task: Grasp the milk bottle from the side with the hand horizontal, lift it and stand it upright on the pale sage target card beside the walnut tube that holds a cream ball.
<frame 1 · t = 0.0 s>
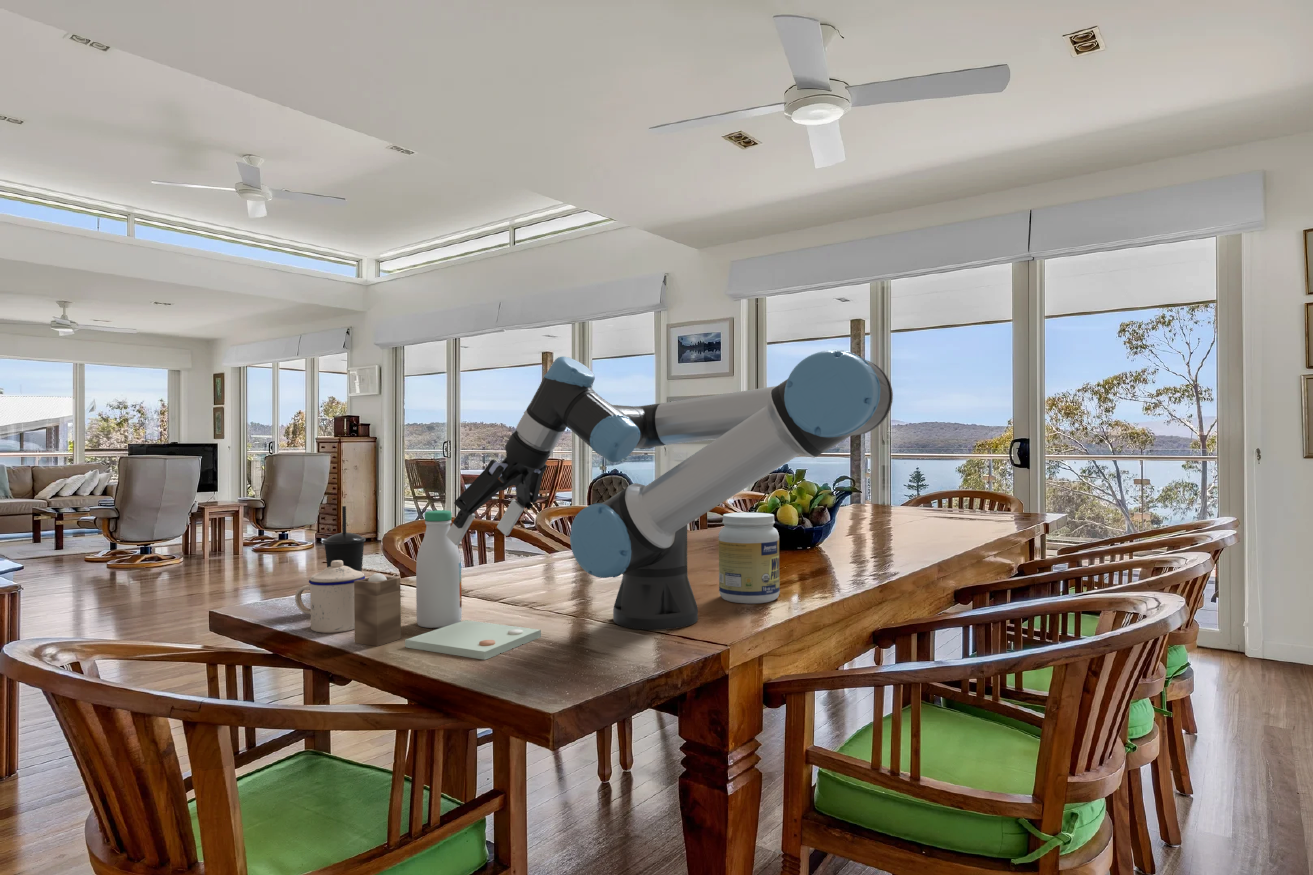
hand: (478, 535, 135), 15 cm above the table, tool tilted 35°, fingers open, 13 cm apart
target card: (474, 642, 121), on the table
drinking cup: (345, 610, 146), on the table
cream ball: (377, 591, 122), point 8 cm above the table, touching walnut tube
teacup with lid: (329, 628, 132), on the table
milk bottle: (439, 624, 133), on the table
supplement tub: (749, 599, 151), on the table
walnut tube: (378, 640, 122), on the table
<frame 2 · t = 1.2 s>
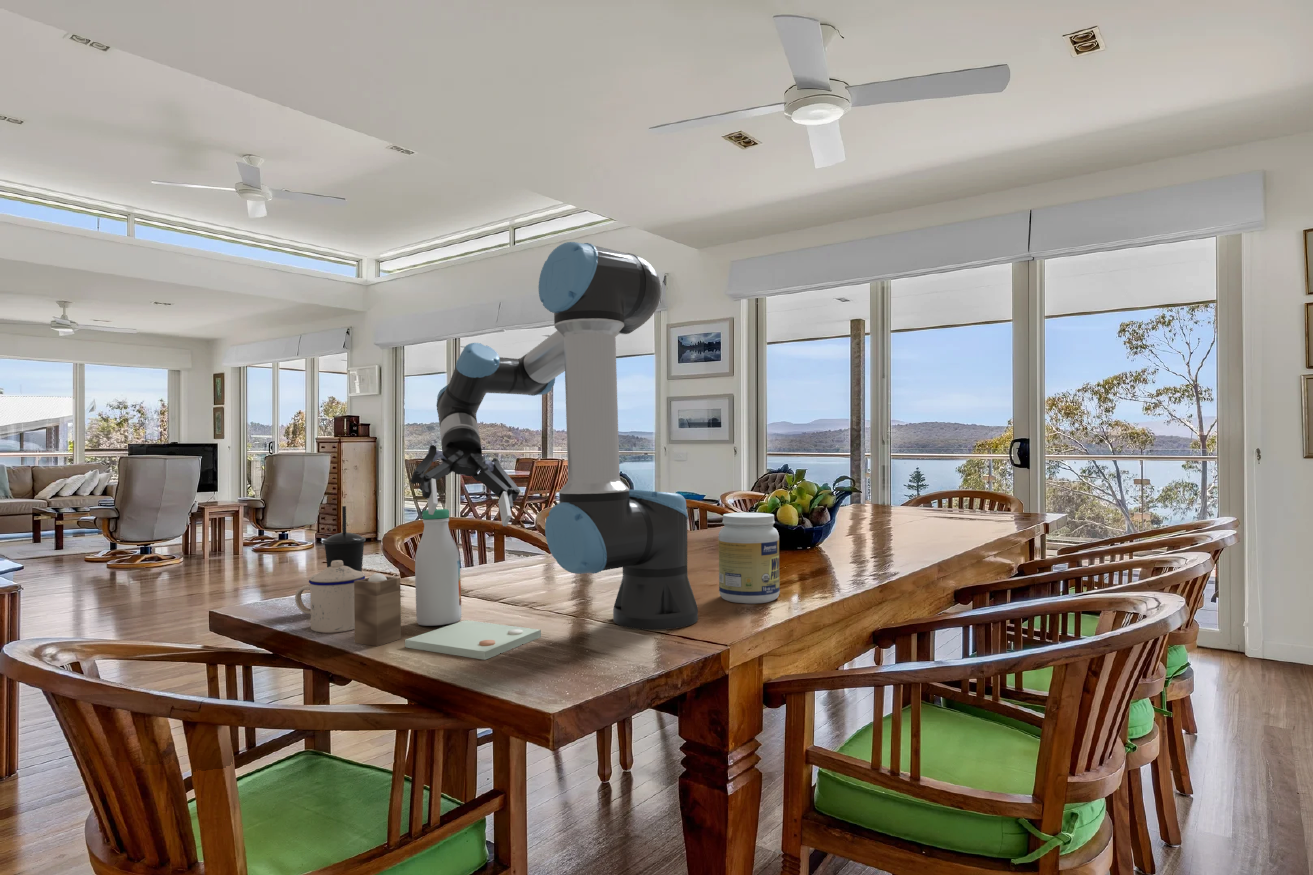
hand: (471, 515, 134), 19 cm above the table, tool tilted 50°, fingers open, 13 cm apart
milk bottle: (439, 623, 133), on the table, touching gripper
everything else where it was.
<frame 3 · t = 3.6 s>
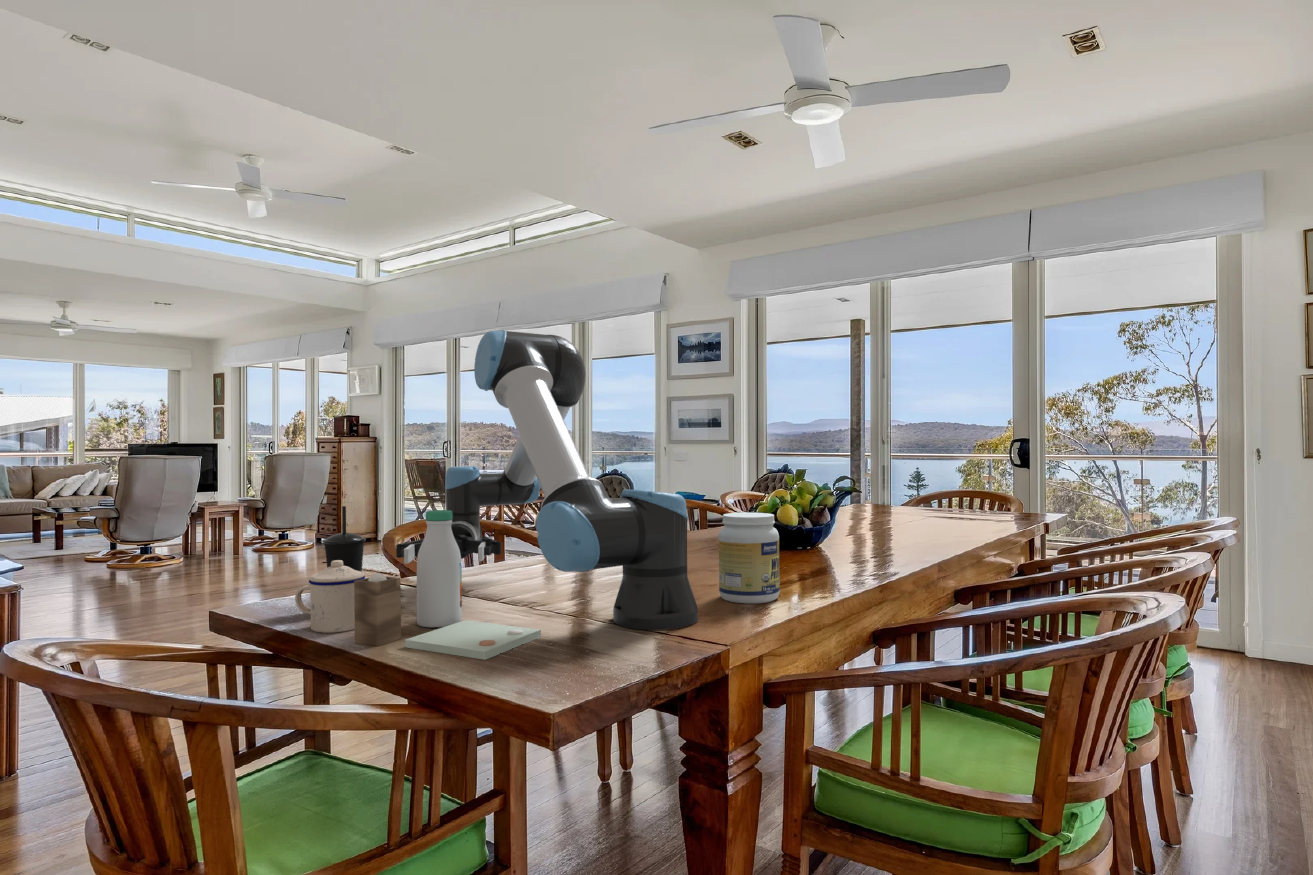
hand: (443, 555, 141), 11 cm above the table, tool horizontal, fingers open, 13 cm apart
milk bottle: (439, 624, 133), on the table
everything else where it was.
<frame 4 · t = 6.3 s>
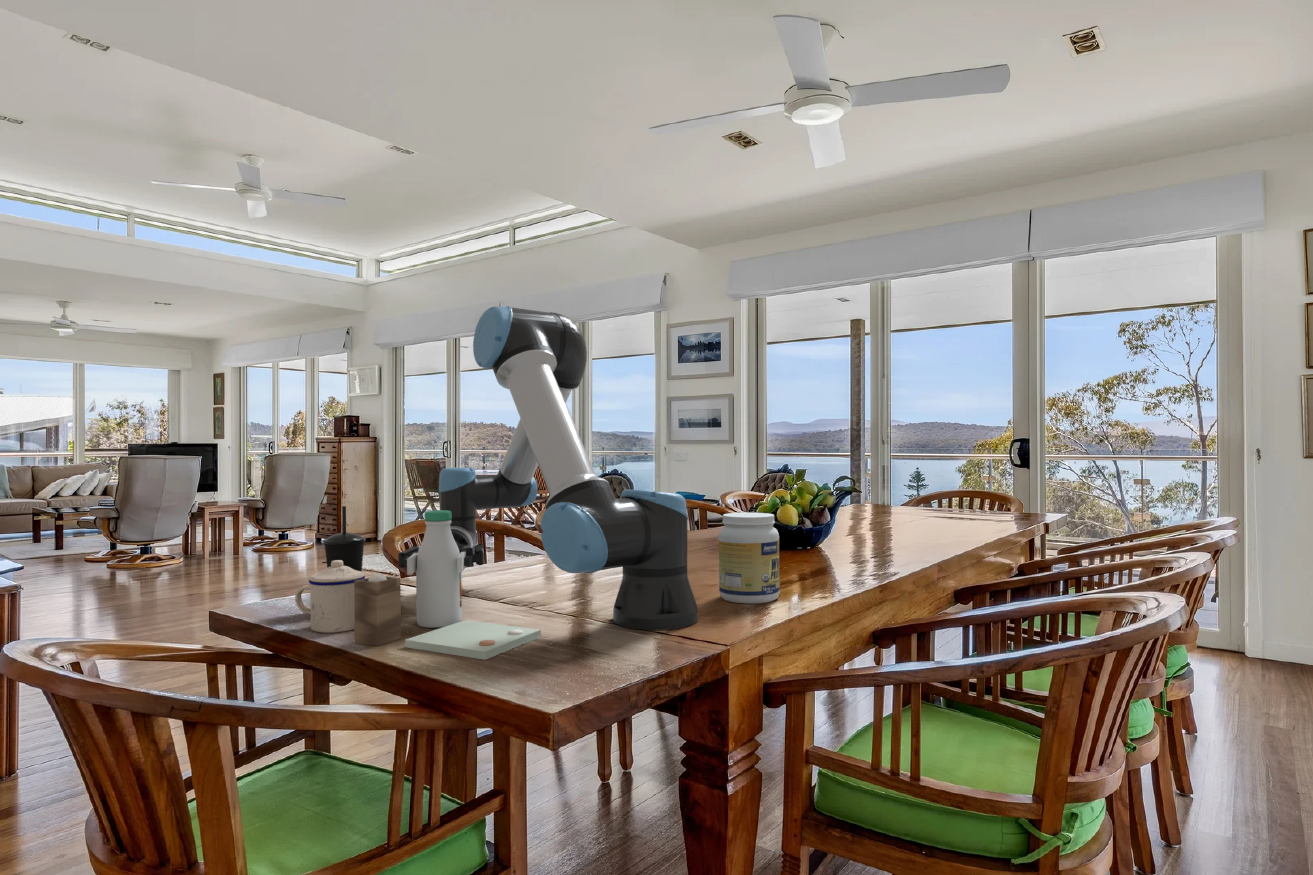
hand: (434, 566, 129), 11 cm above the table, tool horizontal, fingers closed on milk bottle, 8 cm apart
milk bottle: (439, 624, 133), on the table, touching gripper
everything else where it was.
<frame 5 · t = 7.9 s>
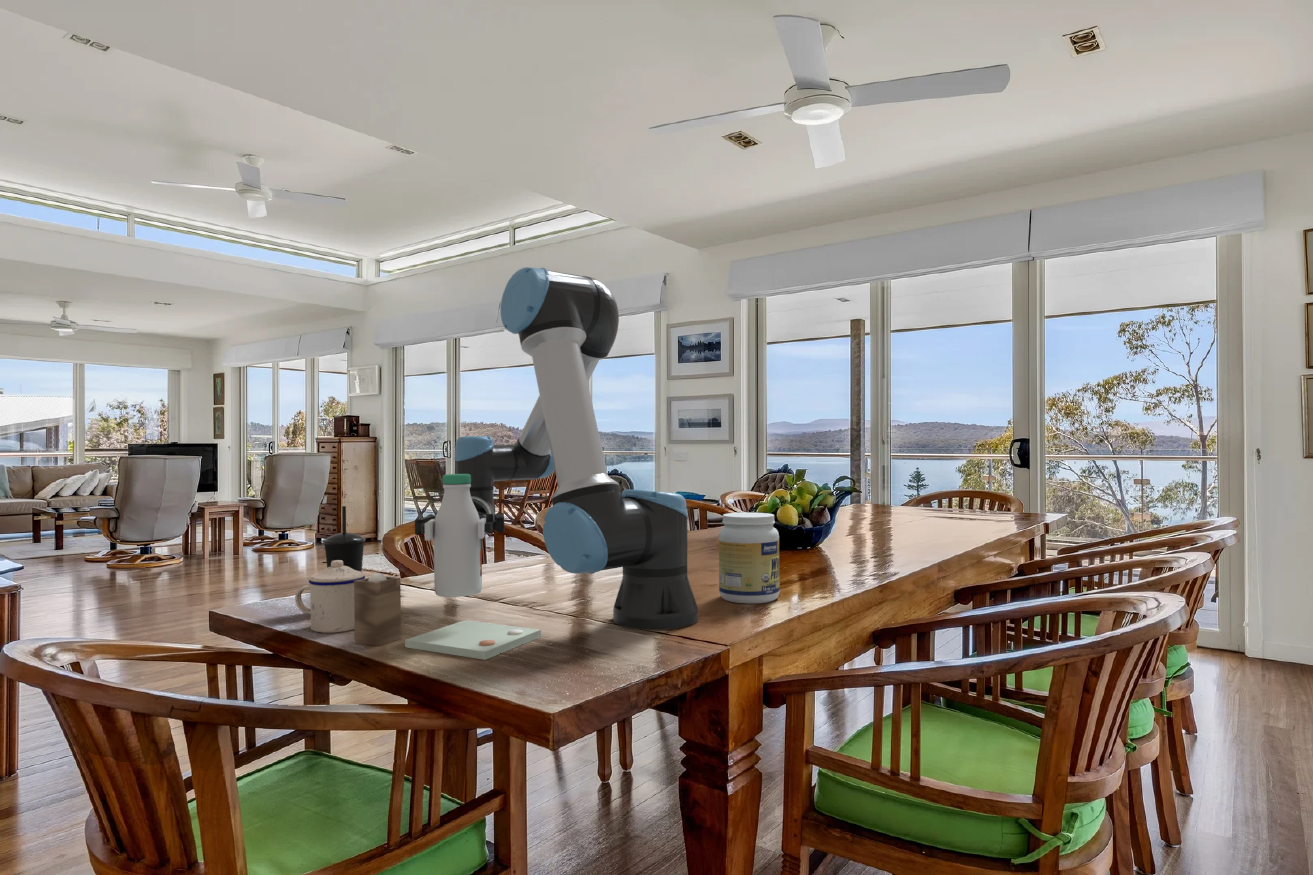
hand: (453, 531, 121), 18 cm above the table, tool horizontal, fingers closed on milk bottle, 8 cm apart
milk bottle: (458, 594, 126), point 7 cm above the table, touching gripper
everything else where it was.
when the fingers open (13 cm above the table, at t = 9.6 s): milk bottle stays where it is, resting on target card.
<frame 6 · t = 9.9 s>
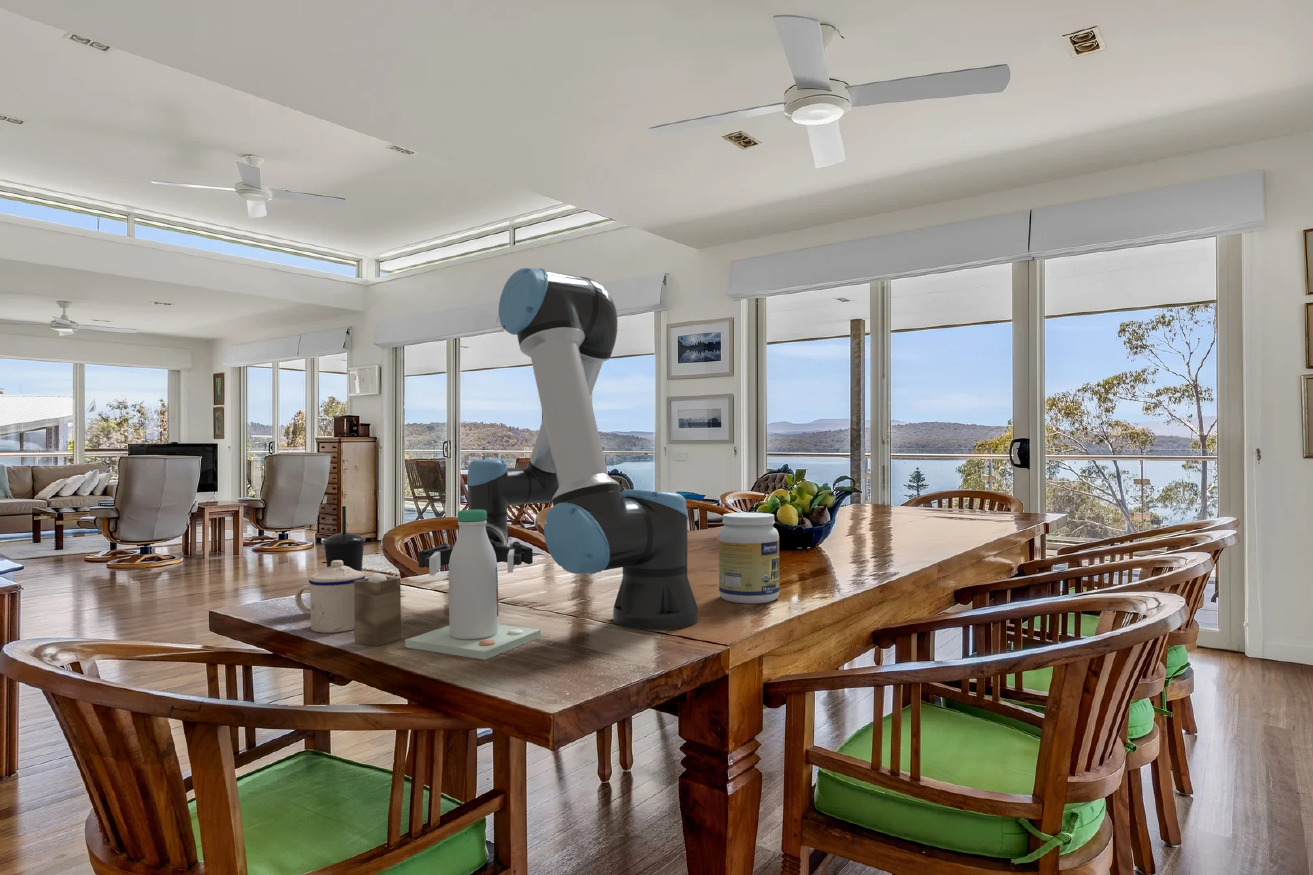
hand: (471, 565, 117), 13 cm above the table, tool horizontal, fingers open, 11 cm apart
milk bottle: (474, 635, 121), point 1 cm above the table, touching target card
everything else where it was.
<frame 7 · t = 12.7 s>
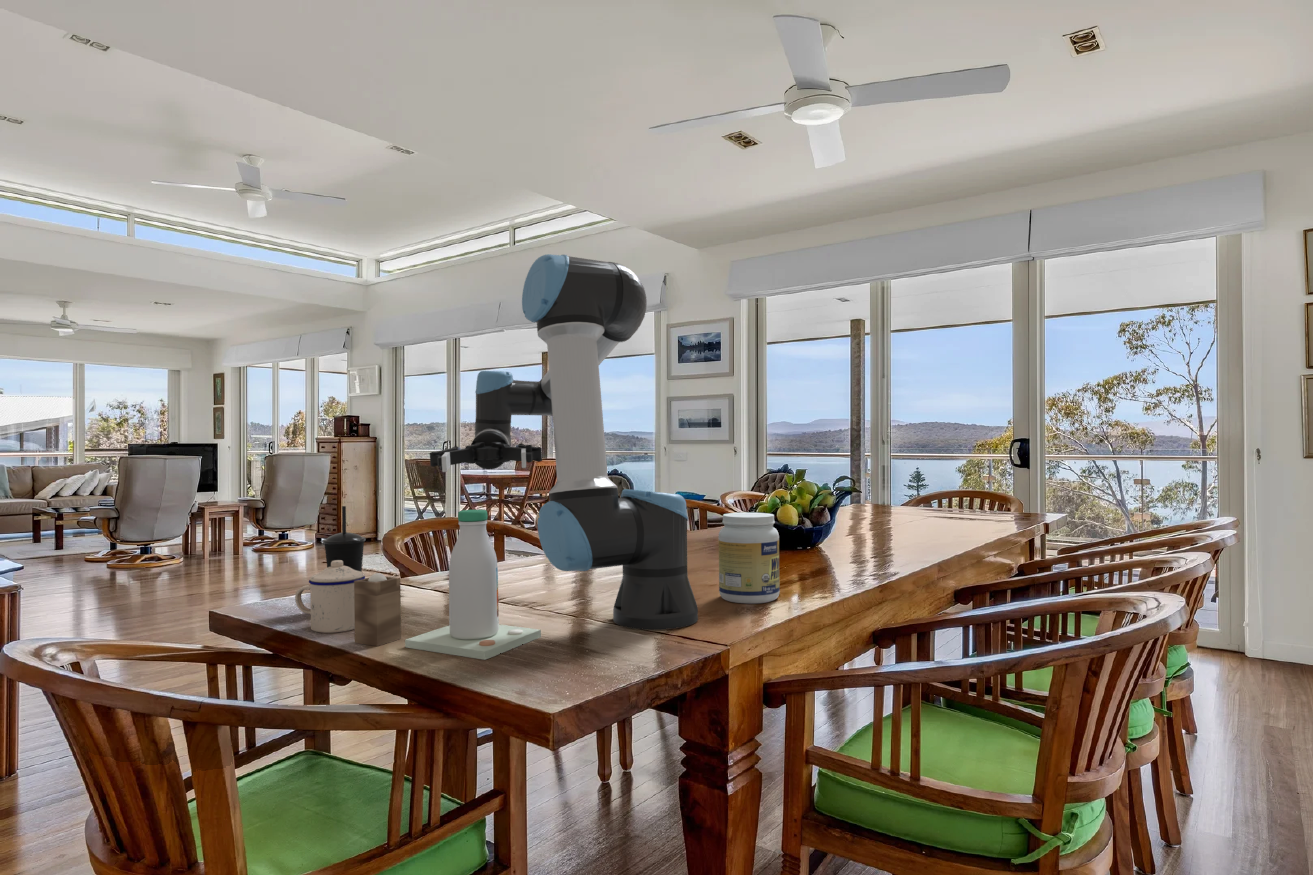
hand: (484, 462, 131), 29 cm above the table, tool horizontal, fingers open, 13 cm apart
nothing on the table moved.
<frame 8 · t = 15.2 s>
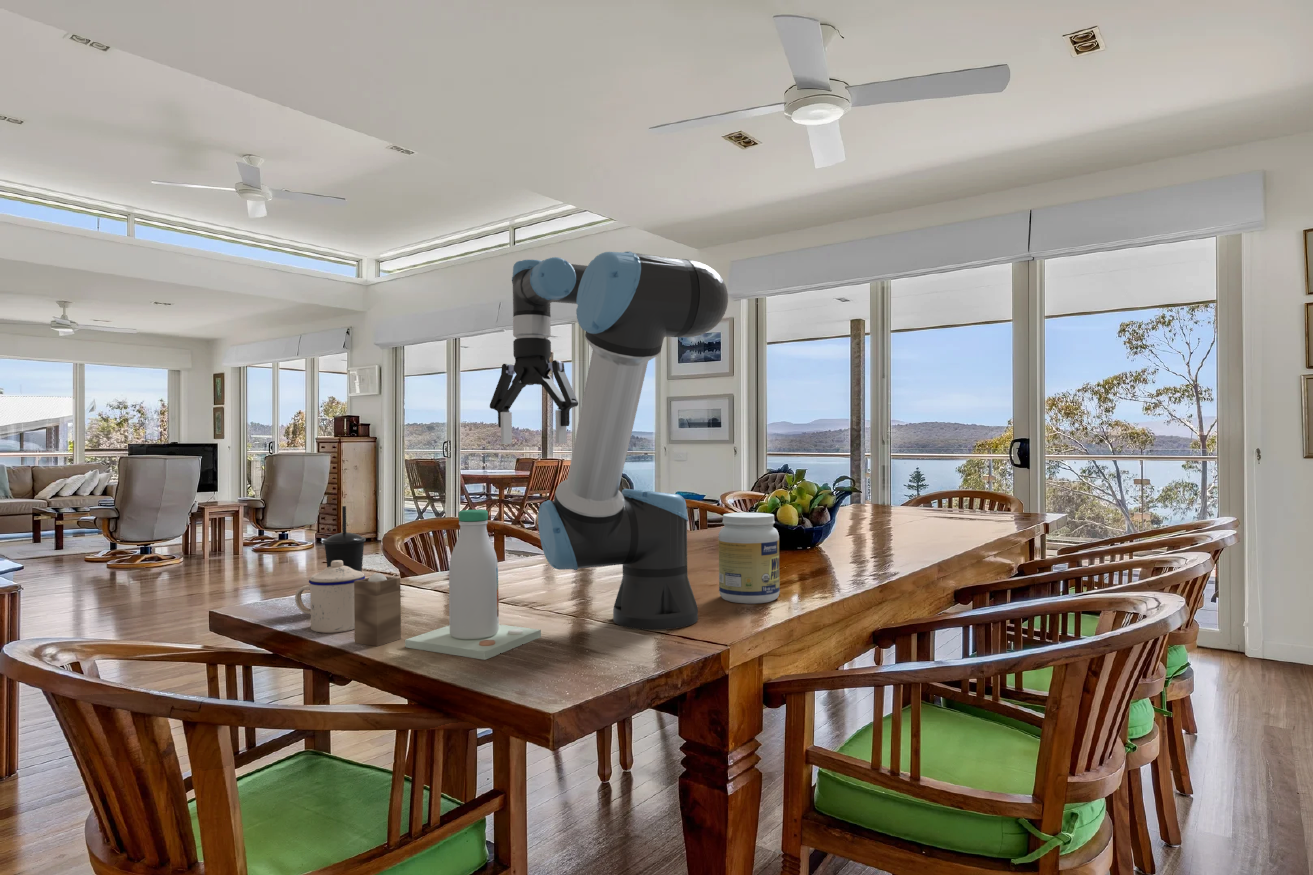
hand: (533, 443, 152), 32 cm above the table, tool pointing down, fingers open, 13 cm apart
nothing on the table moved.
at the end: milk bottle inside the target area on the target card (0.1 cm from its centre), point 1.0 cm above the target card's base; milk bottle tilted 0°; the gripper is holding nothing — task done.
